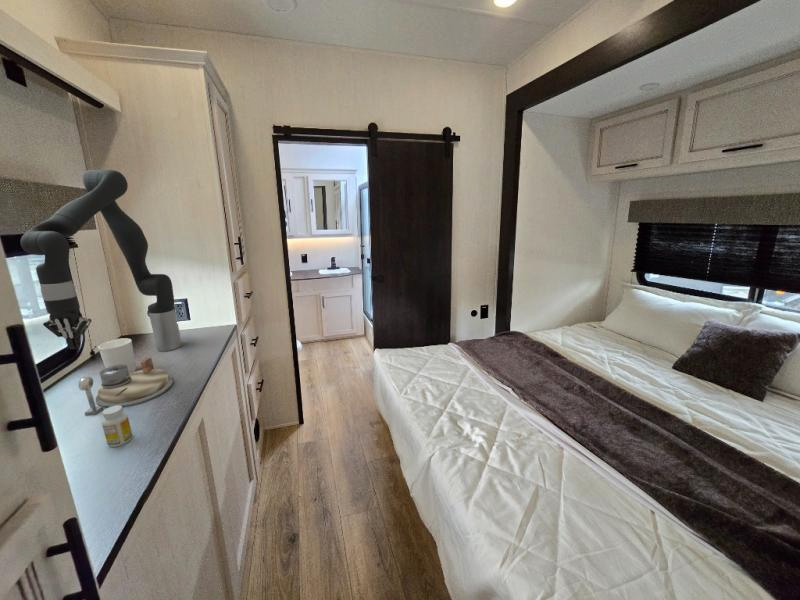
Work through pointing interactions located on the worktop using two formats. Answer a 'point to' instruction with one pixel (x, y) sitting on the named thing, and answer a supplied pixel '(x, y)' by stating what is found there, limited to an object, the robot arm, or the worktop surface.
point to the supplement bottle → (116, 426)
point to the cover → (115, 377)
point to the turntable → (137, 384)
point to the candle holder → (118, 353)
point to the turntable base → (137, 401)
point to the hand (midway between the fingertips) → (74, 347)
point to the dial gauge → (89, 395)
